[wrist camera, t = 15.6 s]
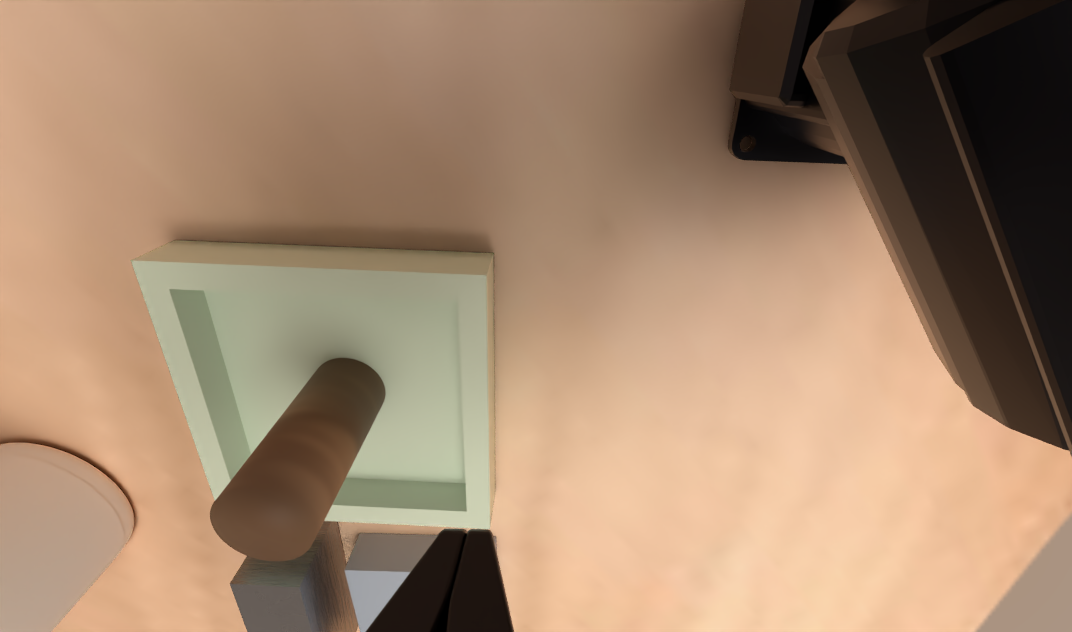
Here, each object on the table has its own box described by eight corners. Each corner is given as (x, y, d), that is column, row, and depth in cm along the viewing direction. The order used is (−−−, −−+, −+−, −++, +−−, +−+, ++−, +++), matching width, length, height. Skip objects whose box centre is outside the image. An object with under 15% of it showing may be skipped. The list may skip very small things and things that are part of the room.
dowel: (381, 358, 20) (304, 490, 14) (389, 419, 22) (322, 563, 15) (307, 356, 20) (197, 486, 14) (319, 416, 22) (224, 559, 15)
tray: (493, 253, 19) (486, 275, 17) (495, 491, 24) (490, 529, 22) (174, 240, 19) (130, 260, 17) (247, 479, 24) (220, 515, 22)
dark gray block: (335, 513, 25) (299, 587, 22) (358, 624, 29) (331, 702, 26) (276, 510, 25) (229, 583, 22) (307, 621, 29) (272, 699, 26)
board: (496, 530, 26) (491, 574, 24) (501, 615, 29) (496, 661, 27) (362, 526, 26) (344, 570, 24) (381, 611, 29) (366, 657, 27)
